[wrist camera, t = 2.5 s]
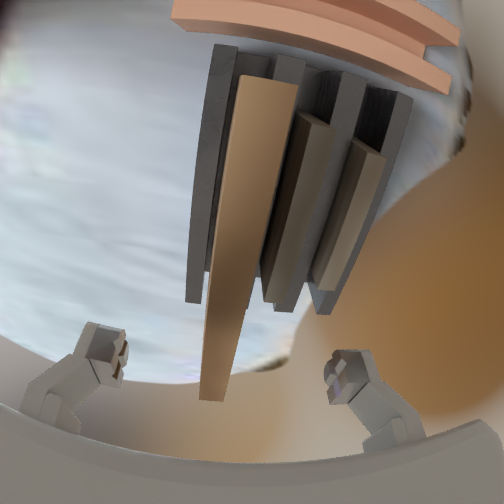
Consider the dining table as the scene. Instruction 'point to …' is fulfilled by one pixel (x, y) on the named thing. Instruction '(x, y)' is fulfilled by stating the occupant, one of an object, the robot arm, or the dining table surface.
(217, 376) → the tall sheet
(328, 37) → the holder
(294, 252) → the offcut
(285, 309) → the rack
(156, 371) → the dining table surface
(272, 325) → the dining table surface
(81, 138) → the dining table surface
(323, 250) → the offcut
